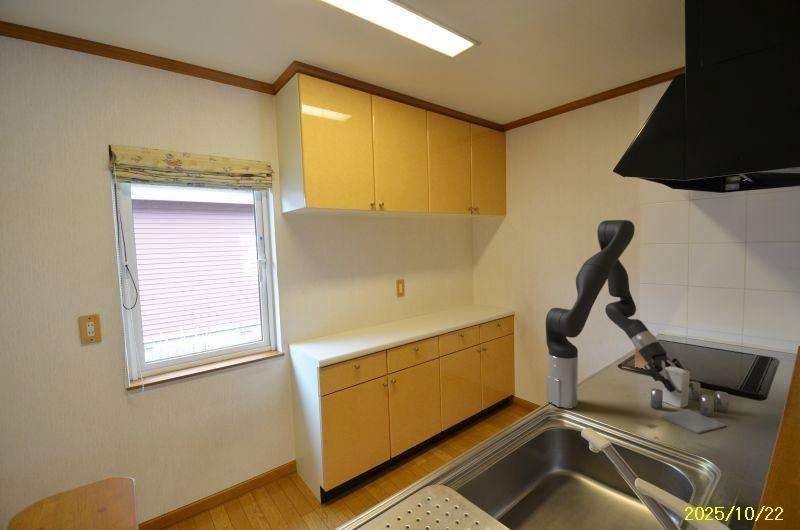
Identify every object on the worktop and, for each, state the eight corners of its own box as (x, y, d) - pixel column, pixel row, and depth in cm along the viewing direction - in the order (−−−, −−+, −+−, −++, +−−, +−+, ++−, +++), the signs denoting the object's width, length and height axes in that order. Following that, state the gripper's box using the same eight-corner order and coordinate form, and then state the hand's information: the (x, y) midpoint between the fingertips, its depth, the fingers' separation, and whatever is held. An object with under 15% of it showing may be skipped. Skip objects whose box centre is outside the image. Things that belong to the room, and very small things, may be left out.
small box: (634, 367, 161) (634, 344, 160) (638, 364, 165) (638, 341, 164) (656, 372, 155) (656, 347, 155) (659, 368, 159) (659, 345, 158)
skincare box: (661, 401, 127) (662, 367, 126) (669, 399, 129) (670, 365, 128) (681, 408, 121) (682, 373, 121) (689, 406, 123) (690, 370, 122)
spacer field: (686, 423, 112) (686, 404, 111) (648, 406, 123) (648, 389, 123) (732, 411, 118) (733, 393, 118) (692, 397, 130) (692, 380, 130)
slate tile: (697, 433, 106) (697, 431, 106) (660, 416, 116) (660, 415, 116) (725, 426, 109) (725, 424, 109) (686, 410, 120) (686, 409, 120)
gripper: (640, 343, 129) (673, 387, 118) (669, 338, 133) (704, 381, 123) (626, 353, 134) (657, 397, 124) (655, 349, 139) (687, 391, 128)
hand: (680, 389), depth 123 cm, fingers open, 6 cm apart
